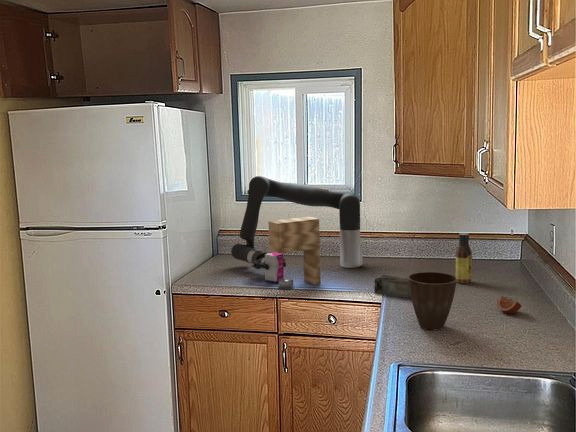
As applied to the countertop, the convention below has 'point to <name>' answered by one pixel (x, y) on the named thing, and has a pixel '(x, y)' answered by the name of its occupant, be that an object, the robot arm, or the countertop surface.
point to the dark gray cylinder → (285, 283)
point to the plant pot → (432, 297)
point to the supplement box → (274, 267)
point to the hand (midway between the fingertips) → (276, 266)
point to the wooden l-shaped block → (298, 242)
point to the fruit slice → (508, 305)
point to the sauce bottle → (463, 260)
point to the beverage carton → (392, 286)
